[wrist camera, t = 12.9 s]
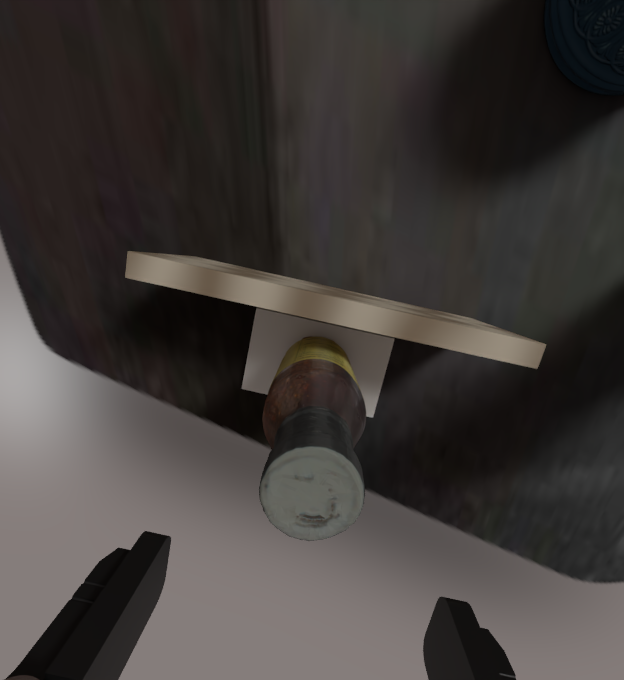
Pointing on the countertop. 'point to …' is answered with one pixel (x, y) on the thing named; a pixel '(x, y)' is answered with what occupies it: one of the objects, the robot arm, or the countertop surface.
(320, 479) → the sauce bottle
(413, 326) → the birch board
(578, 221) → the countertop surface
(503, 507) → the countertop surface
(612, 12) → the canister
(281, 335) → the white plate
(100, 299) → the countertop surface
